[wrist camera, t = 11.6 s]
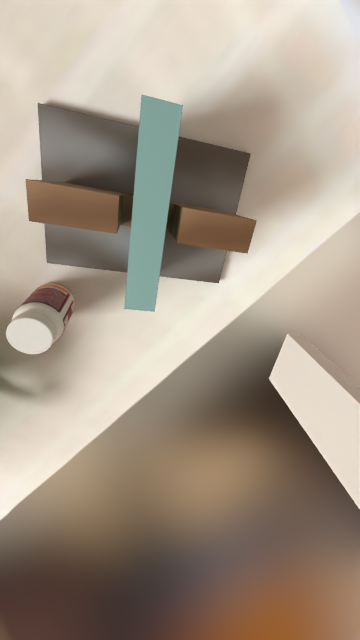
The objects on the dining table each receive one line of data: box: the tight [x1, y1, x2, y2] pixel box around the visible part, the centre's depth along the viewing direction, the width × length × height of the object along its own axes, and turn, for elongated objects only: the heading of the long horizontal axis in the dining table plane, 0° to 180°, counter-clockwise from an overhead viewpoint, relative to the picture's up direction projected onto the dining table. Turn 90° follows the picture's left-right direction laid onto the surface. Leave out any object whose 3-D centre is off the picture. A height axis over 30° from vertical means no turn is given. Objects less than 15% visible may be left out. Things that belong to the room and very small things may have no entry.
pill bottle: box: [6, 284, 75, 354], centre depth 27 cm, size 5×5×8 cm
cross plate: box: [124, 95, 183, 312], centre depth 23 cm, size 14×2×10 cm, turn 170°
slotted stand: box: [26, 103, 256, 283], centre depth 23 cm, size 14×20×11 cm
